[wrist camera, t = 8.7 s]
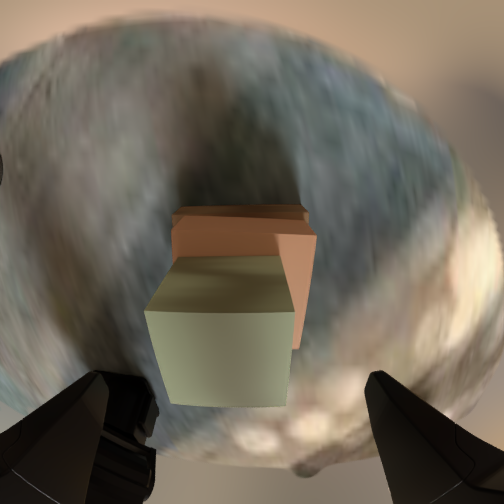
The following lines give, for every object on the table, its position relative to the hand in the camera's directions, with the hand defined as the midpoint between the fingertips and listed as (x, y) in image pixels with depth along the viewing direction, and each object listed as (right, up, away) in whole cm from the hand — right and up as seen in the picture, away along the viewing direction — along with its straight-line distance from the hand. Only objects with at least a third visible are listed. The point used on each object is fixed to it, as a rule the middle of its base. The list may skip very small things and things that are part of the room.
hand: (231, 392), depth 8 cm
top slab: (0, +3, +9) cm, 10 cm away
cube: (0, +2, +6) cm, 7 cm away
